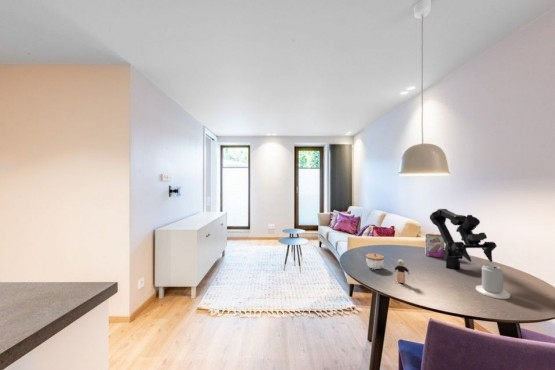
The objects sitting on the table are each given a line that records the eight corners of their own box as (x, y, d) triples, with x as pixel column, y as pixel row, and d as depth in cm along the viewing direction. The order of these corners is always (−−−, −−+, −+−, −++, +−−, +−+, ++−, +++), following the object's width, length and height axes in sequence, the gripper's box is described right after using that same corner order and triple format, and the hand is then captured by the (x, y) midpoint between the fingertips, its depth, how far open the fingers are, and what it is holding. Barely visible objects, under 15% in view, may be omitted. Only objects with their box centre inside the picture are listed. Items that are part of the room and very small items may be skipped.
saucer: (477, 294, 108) (477, 292, 108) (474, 285, 118) (474, 283, 118) (512, 301, 101) (512, 299, 101) (507, 291, 110) (507, 289, 110)
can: (505, 295, 104) (505, 270, 104) (483, 291, 108) (483, 266, 108) (500, 289, 111) (500, 264, 110) (480, 285, 115) (480, 262, 114)
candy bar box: (426, 256, 164) (425, 233, 164) (425, 254, 168) (424, 232, 168) (445, 258, 159) (444, 234, 159) (443, 256, 164) (442, 233, 164)
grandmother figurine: (393, 283, 122) (393, 259, 121) (393, 280, 125) (393, 257, 125) (410, 285, 118) (410, 261, 118) (409, 282, 122) (409, 259, 122)
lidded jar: (365, 270, 140) (365, 255, 140) (366, 264, 150) (365, 250, 150) (385, 272, 136) (384, 257, 136) (383, 266, 146) (383, 251, 146)
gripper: (453, 227, 124) (466, 254, 113) (493, 226, 120) (510, 254, 109) (446, 237, 131) (458, 263, 121) (484, 237, 128) (499, 264, 117)
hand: (481, 261), depth 117 cm, fingers open, 9 cm apart
